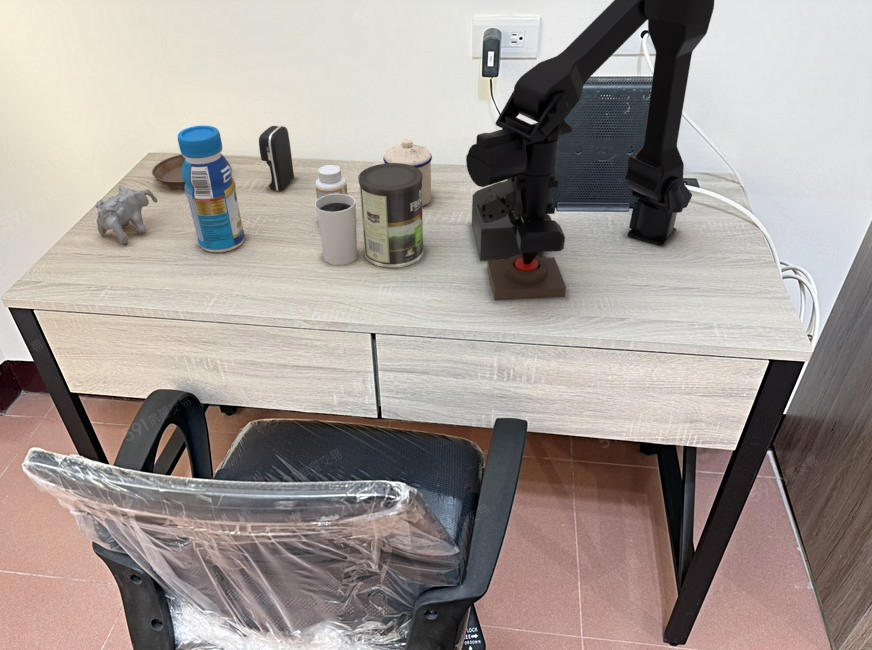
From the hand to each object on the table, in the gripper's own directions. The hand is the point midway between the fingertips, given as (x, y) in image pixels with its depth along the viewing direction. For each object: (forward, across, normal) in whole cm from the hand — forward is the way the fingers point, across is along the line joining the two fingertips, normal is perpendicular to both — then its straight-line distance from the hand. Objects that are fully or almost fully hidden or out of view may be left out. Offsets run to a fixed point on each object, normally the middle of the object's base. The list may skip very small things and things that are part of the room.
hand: (526, 262), depth 111 cm
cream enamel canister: (+4, -32, -19) cm, 37 cm away
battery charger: (+4, -41, -43) cm, 60 cm away
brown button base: (+4, 0, 0) cm, 4 cm away
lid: (-2, -14, -1) cm, 14 cm away
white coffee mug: (+4, -11, -30) cm, 32 cm away
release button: (+2, 0, 0) cm, 2 cm away
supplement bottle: (+4, -24, -31) cm, 40 cm away
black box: (+4, -14, -1) cm, 14 cm away
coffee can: (+4, -12, -21) cm, 24 cm away
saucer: (+4, -46, -62) cm, 78 cm away
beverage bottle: (+4, -18, -51) cm, 55 cm away
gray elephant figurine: (+4, -25, -69) cm, 74 cm away
